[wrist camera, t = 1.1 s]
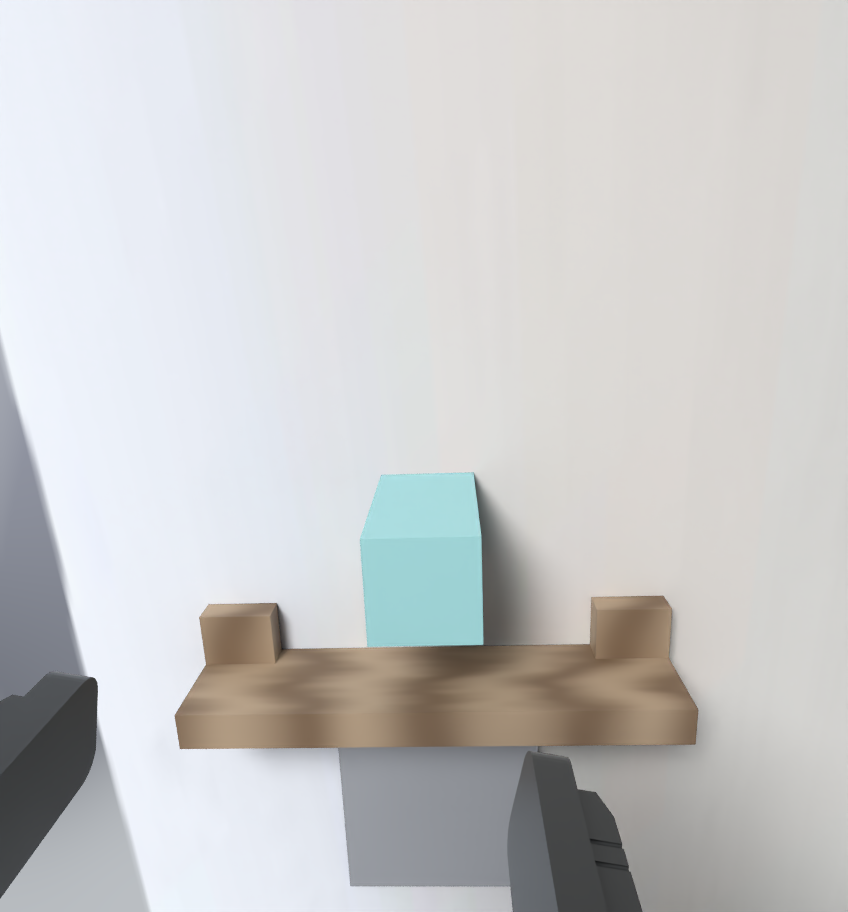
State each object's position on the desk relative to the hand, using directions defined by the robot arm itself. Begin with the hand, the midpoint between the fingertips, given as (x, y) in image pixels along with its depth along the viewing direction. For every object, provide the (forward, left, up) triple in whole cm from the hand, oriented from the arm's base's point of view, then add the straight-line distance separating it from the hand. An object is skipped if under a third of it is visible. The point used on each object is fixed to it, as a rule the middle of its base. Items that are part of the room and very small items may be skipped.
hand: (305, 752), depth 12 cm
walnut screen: (-6, +12, -24) cm, 28 cm away
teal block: (-3, +4, -24) cm, 25 cm away
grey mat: (-9, +22, -24) cm, 34 cm away
